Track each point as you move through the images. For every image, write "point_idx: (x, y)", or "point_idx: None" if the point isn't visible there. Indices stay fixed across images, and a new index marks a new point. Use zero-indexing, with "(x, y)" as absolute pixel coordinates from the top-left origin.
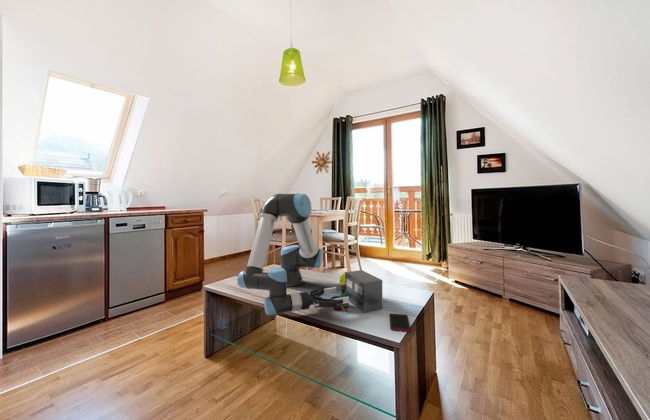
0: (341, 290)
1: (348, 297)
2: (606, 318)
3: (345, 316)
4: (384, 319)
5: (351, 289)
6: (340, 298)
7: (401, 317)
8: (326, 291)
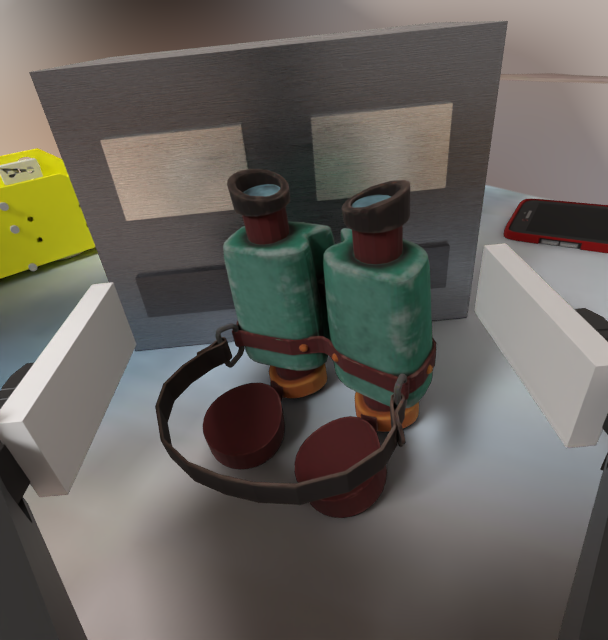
0: (393, 222)
1: (507, 251)
2: (522, 76)
3: (549, 451)
4: (579, 264)
5: (232, 222)
6: (572, 310)
7: (558, 213)
8: (61, 423)
